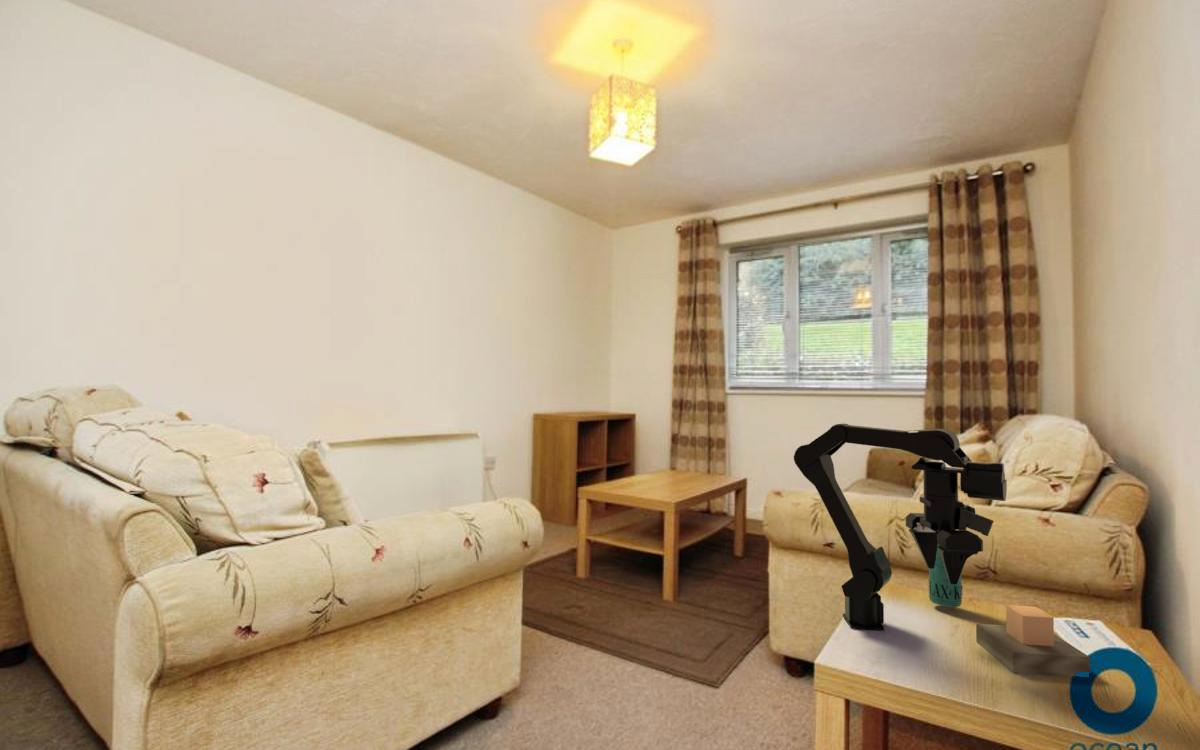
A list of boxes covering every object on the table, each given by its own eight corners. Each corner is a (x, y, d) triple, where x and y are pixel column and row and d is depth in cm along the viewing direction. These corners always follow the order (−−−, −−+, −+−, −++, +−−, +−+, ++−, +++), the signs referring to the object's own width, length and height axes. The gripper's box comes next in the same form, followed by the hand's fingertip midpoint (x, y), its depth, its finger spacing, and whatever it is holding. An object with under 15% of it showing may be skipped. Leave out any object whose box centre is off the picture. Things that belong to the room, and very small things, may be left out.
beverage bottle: (921, 603, 128) (920, 515, 129) (948, 602, 129) (947, 515, 130) (942, 615, 122) (941, 522, 122) (970, 613, 123) (969, 521, 123)
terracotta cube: (1023, 644, 100) (1022, 616, 100) (1006, 632, 105) (1006, 605, 105) (1053, 646, 100) (1053, 617, 100) (1035, 633, 104) (1035, 606, 105)
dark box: (1013, 675, 97) (1012, 652, 97) (976, 644, 109) (976, 623, 109) (1090, 681, 95) (1089, 657, 95) (1044, 648, 107) (1044, 627, 107)
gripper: (1014, 505, 98) (1016, 595, 98) (961, 487, 117) (962, 563, 116) (946, 503, 100) (947, 592, 99) (904, 485, 118) (905, 560, 118)
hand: (941, 575), depth 108 cm, fingers open, 9 cm apart
